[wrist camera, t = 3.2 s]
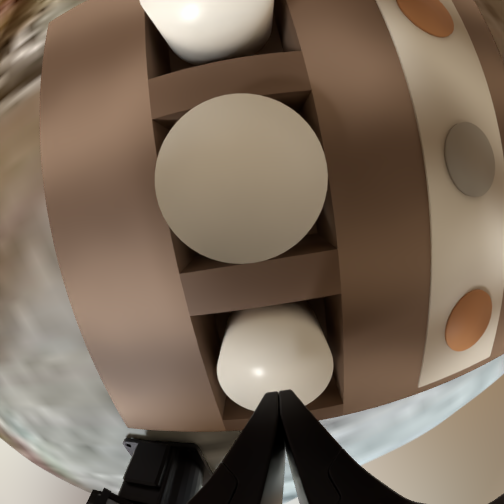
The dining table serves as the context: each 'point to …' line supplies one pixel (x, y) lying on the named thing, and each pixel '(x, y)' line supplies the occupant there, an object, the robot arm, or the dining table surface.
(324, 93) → the button board
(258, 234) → the button middle
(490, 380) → the dining table surface
